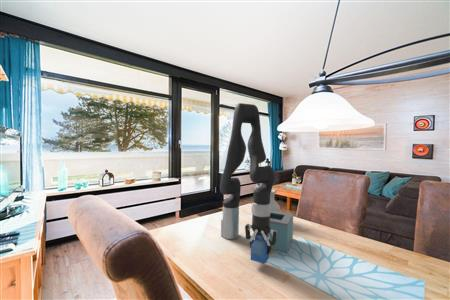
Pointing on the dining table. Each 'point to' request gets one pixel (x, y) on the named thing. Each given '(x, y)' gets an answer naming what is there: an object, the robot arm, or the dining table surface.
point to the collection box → (281, 230)
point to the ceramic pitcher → (273, 204)
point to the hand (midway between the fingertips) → (260, 250)
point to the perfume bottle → (259, 249)
